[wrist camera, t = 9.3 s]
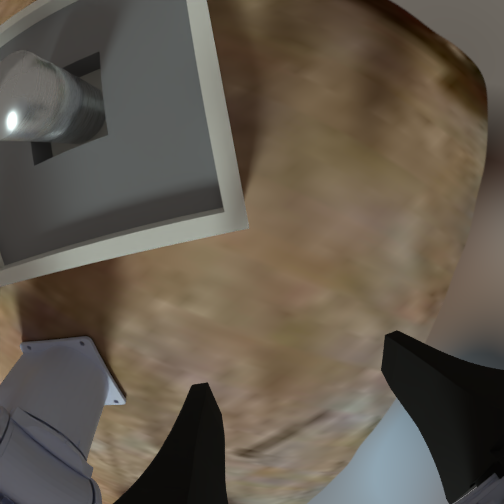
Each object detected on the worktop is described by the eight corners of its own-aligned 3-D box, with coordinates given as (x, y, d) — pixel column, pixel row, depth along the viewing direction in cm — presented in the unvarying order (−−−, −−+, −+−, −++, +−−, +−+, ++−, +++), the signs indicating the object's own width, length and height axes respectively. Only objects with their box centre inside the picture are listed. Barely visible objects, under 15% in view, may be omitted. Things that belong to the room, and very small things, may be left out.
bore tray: (25, 264, 17) (-10, 289, 12) (-1, 66, 11) (-36, 56, 7) (240, 210, 18) (249, 228, 13) (198, -19, 12) (195, -58, 8)
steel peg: (62, 153, 14) (-20, 156, 7) (53, 101, 13) (-23, 81, 6) (112, 130, 15) (41, 112, 7) (102, 76, 13) (38, 33, 6)
